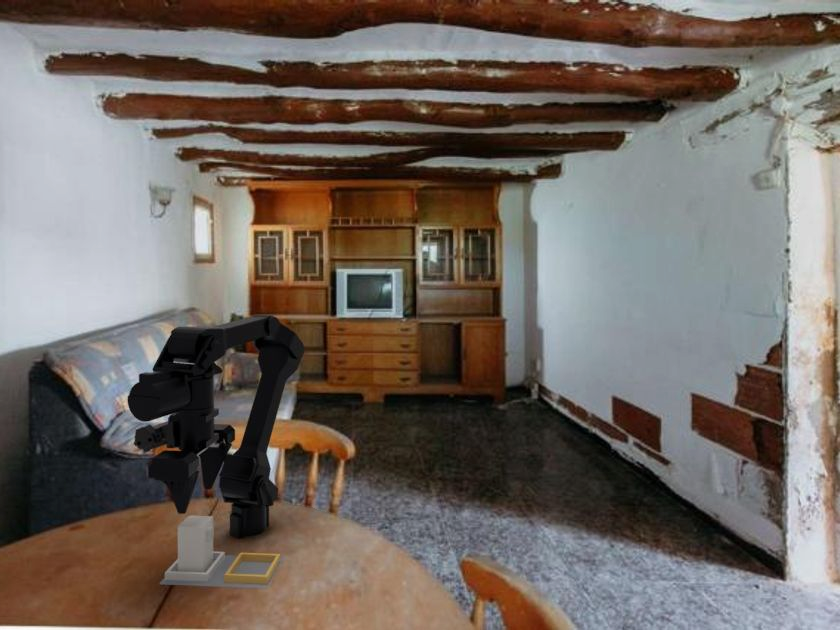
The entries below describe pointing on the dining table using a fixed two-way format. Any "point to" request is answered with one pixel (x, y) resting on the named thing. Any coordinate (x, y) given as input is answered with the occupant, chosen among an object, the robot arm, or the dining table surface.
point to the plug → (195, 544)
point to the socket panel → (229, 571)
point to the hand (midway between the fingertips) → (195, 500)
